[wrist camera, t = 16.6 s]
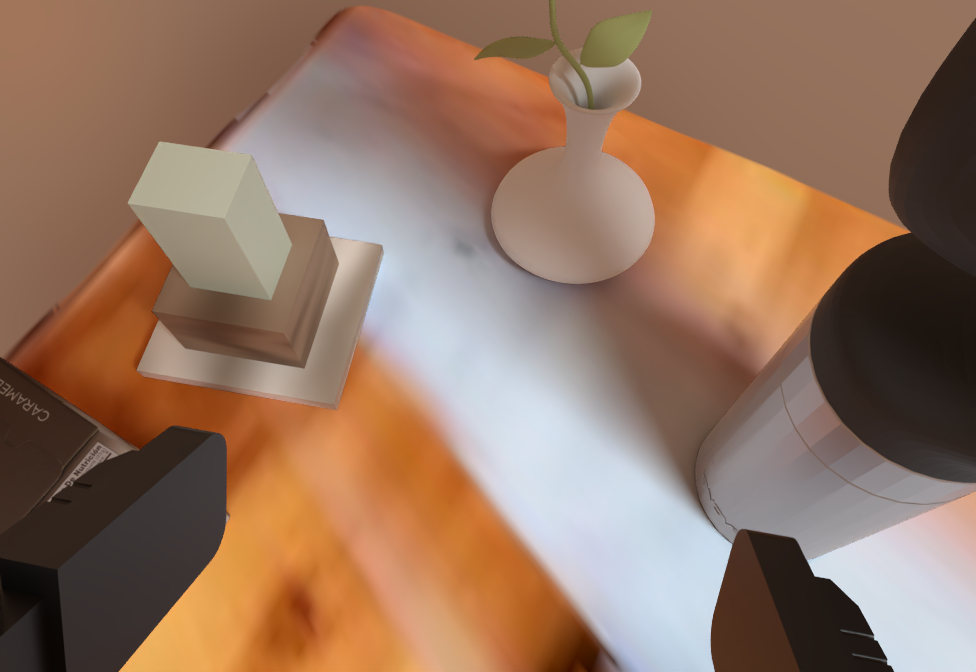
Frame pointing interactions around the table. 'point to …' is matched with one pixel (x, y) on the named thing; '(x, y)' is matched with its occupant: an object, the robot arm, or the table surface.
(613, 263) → the flower in vase
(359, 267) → the tower base
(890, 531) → the table surface
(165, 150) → the sage brick
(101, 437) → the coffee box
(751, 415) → the robot arm
